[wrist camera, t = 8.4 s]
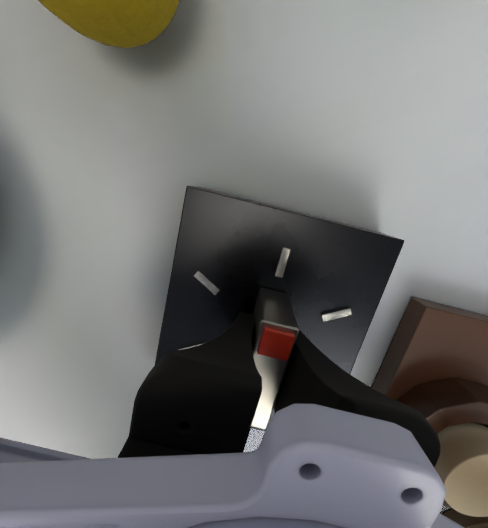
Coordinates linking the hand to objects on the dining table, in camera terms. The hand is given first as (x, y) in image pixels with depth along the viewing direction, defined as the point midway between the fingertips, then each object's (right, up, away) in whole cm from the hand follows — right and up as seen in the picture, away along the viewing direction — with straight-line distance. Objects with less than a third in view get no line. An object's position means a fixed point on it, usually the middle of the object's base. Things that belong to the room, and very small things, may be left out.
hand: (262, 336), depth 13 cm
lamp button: (+11, -7, +1) cm, 13 cm away
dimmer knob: (0, 0, 0) cm, 0 cm away
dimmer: (0, +1, +3) cm, 3 cm away
